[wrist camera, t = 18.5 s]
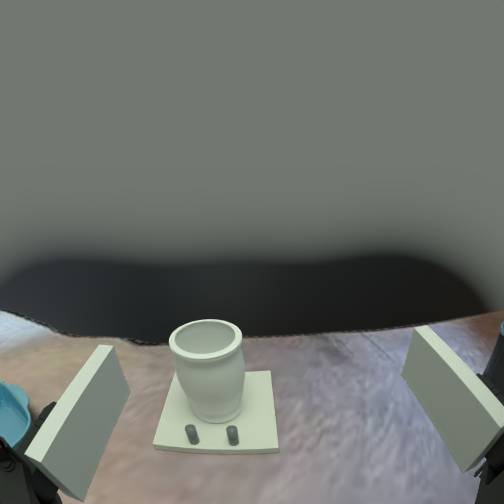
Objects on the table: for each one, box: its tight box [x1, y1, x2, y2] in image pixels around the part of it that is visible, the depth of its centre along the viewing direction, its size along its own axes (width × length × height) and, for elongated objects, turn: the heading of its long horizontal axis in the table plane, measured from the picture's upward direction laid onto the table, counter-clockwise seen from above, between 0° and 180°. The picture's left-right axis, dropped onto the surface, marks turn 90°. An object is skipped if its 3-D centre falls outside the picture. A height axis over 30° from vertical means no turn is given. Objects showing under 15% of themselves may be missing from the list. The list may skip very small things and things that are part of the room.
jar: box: [169, 319, 245, 423], centre depth 39 cm, size 11×10×15 cm
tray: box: [153, 371, 279, 454], centre depth 41 cm, size 19×19×5 cm
